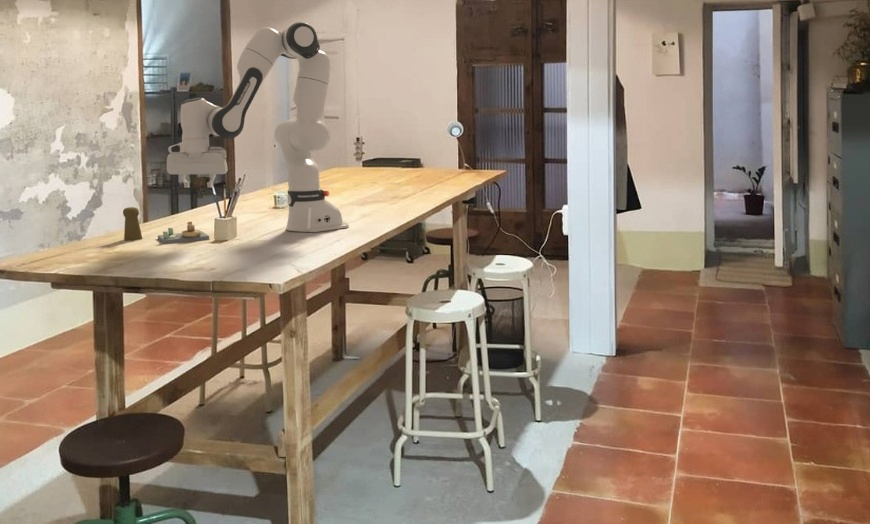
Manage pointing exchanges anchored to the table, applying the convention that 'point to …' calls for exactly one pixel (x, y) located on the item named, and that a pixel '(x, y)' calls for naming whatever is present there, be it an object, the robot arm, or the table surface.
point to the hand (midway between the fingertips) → (198, 187)
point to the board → (179, 237)
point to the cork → (131, 224)
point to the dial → (190, 231)
